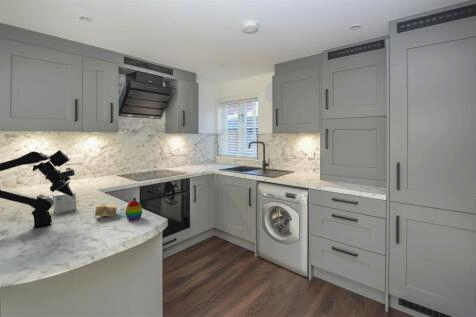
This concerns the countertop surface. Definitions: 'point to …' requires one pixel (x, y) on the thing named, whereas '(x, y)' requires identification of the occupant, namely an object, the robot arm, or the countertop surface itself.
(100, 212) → the oak block
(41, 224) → the robot arm
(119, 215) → the slate mat
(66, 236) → the countertop surface
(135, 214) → the decorative egg
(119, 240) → the countertop surface
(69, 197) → the light bulb box
